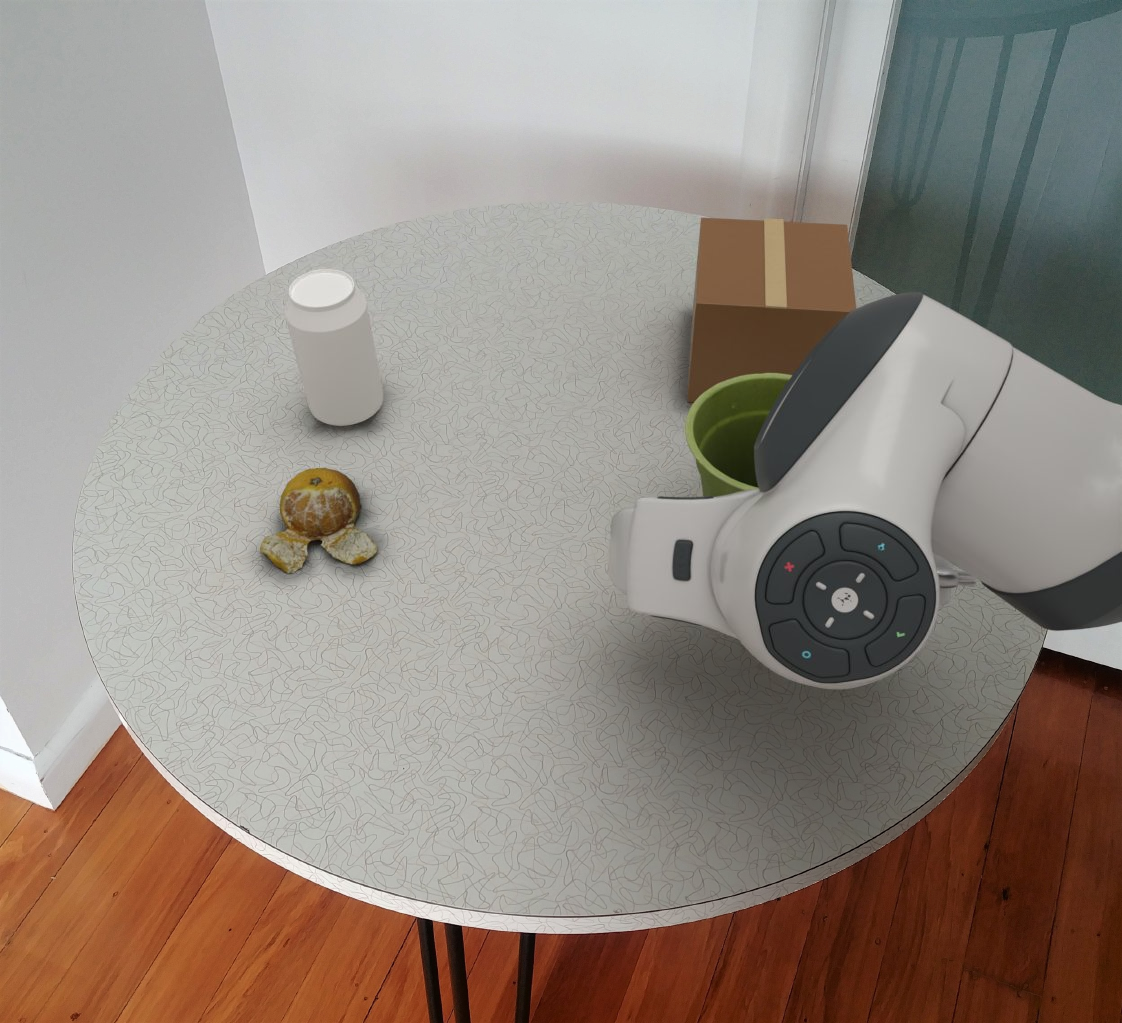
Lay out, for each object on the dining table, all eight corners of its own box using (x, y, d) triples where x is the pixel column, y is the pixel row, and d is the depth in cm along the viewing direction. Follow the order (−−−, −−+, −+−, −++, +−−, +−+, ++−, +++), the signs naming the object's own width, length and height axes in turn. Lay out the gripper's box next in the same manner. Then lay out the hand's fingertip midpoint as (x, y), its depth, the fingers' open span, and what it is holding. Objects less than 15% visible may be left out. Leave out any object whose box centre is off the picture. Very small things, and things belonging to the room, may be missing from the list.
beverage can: (394, 420, 87) (373, 299, 78) (321, 441, 85) (290, 320, 76) (373, 375, 91) (350, 255, 82) (302, 395, 89) (271, 275, 80)
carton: (834, 412, 87) (857, 311, 79) (686, 402, 88) (696, 301, 80) (827, 322, 95) (847, 222, 87) (692, 314, 96) (701, 215, 88)
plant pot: (799, 472, 82) (823, 358, 74) (866, 588, 74) (902, 475, 66) (653, 501, 80) (661, 388, 72) (706, 623, 72) (722, 511, 64)
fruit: (261, 575, 76) (249, 541, 73) (271, 491, 82) (260, 457, 79) (377, 565, 76) (370, 531, 74) (379, 482, 82) (372, 448, 79)
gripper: (993, 522, 56) (925, 514, 70) (608, 495, 58) (615, 492, 71) (983, 641, 56) (917, 609, 70) (599, 610, 58) (609, 585, 72)
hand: (762, 550), depth 71 cm, fingers closed, pressing on plant pot
